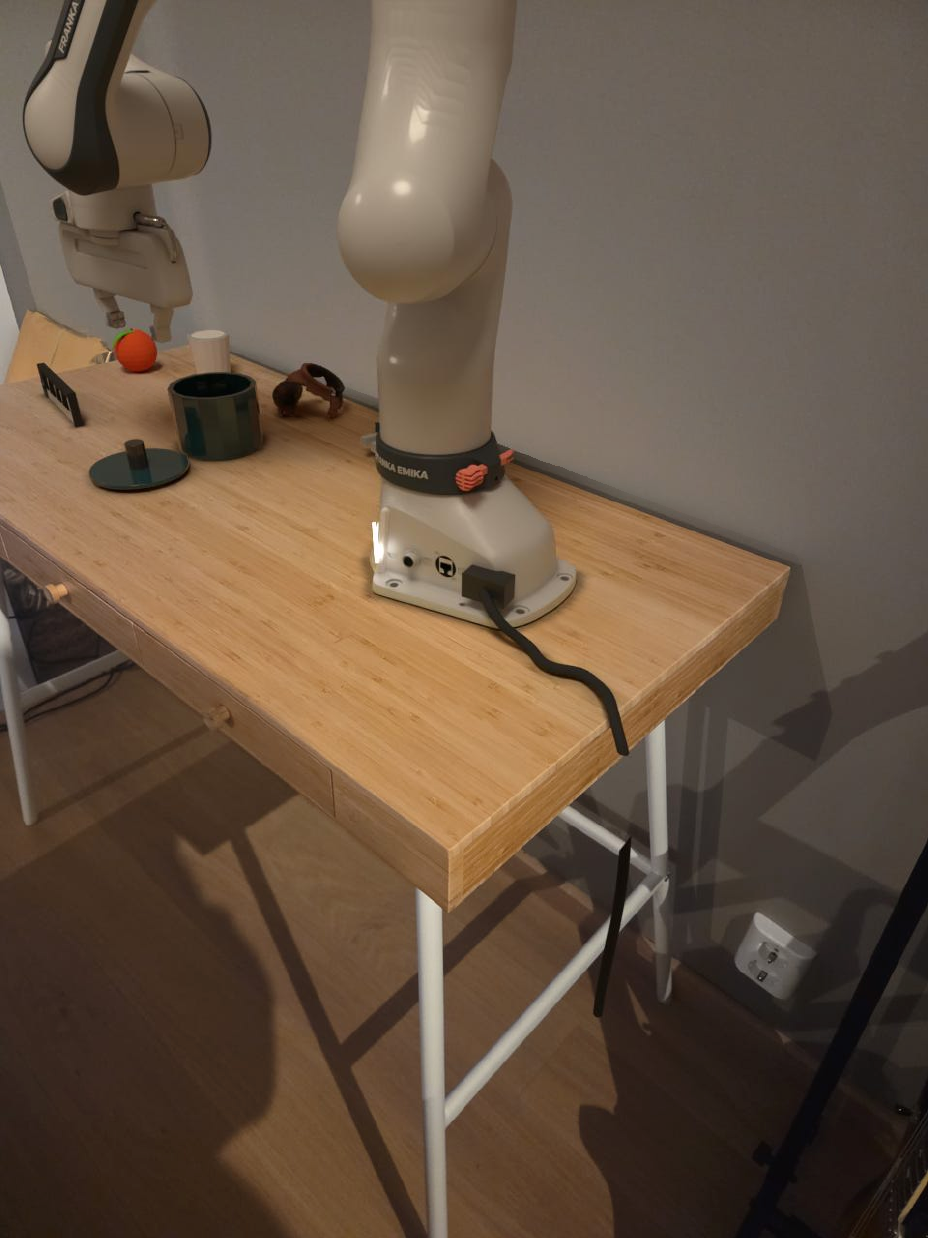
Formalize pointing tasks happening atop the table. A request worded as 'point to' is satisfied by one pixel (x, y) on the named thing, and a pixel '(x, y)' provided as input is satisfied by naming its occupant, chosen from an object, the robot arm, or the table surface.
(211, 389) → the tin
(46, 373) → the midi keyboard
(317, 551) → the table surface
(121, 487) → the lid
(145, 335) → the clementine
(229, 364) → the cream white cylinder
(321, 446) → the table surface
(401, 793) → the table surface
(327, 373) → the brown arched strap
